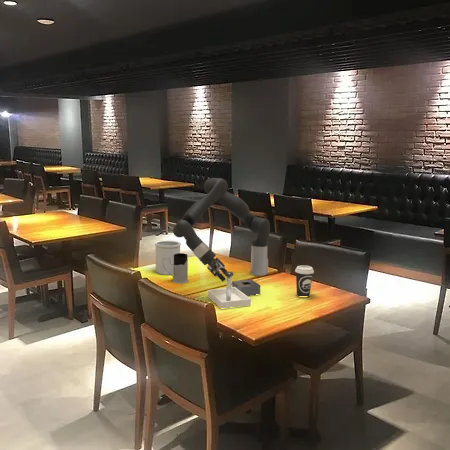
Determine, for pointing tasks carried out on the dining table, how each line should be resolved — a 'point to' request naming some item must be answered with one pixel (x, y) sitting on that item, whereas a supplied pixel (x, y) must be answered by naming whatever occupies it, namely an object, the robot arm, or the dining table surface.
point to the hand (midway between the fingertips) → (226, 277)
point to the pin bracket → (247, 287)
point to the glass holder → (179, 268)
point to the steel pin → (228, 285)
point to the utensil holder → (166, 255)
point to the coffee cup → (304, 280)
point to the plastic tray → (236, 298)
